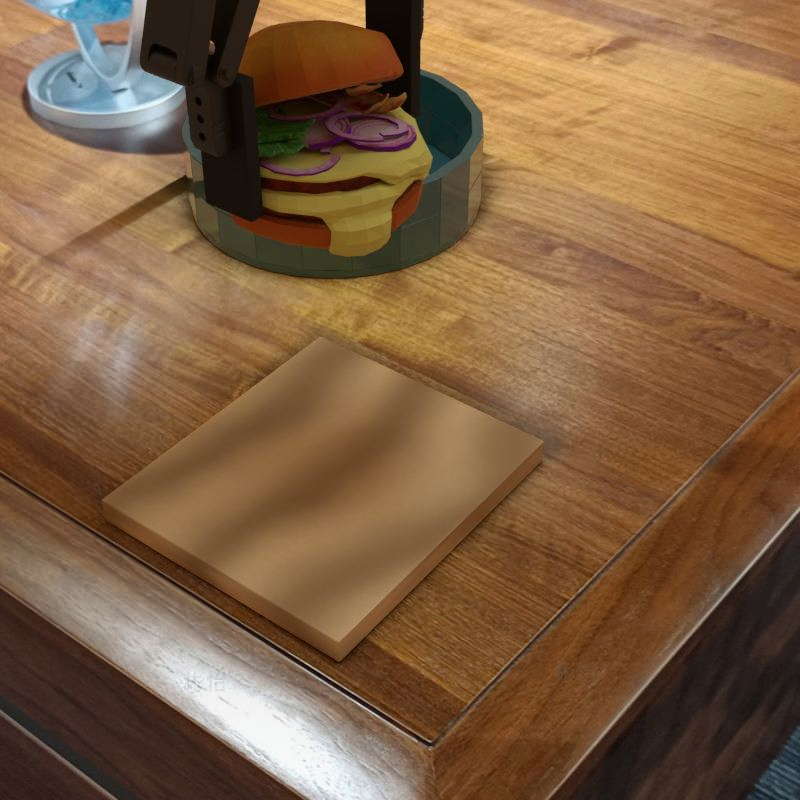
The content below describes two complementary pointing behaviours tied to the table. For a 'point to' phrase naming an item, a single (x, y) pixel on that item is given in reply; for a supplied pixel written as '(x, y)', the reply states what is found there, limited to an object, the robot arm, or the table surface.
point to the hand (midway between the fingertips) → (318, 157)
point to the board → (325, 492)
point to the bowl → (415, 238)
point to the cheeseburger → (331, 137)
